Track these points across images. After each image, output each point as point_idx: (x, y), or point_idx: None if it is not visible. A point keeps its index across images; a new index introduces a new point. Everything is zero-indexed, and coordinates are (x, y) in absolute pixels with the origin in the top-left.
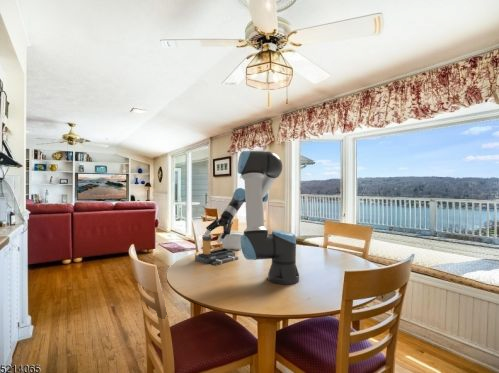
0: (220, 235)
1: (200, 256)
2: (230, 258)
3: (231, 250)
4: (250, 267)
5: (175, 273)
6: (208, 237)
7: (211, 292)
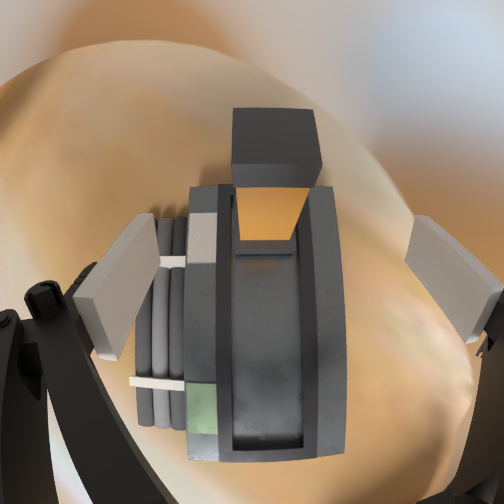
0: (114, 258)
1: None
2: (152, 368)
3: (219, 456)
4: None
5: (209, 61)
6: (232, 130)
7: (31, 87)
